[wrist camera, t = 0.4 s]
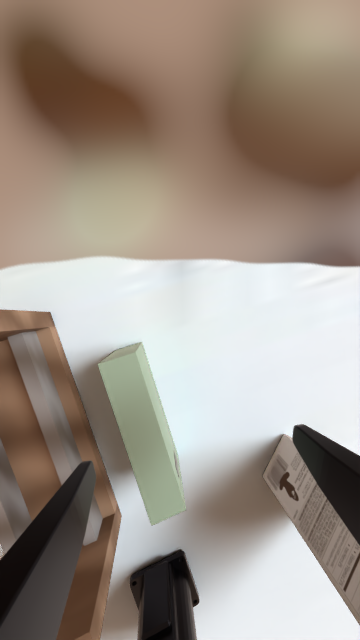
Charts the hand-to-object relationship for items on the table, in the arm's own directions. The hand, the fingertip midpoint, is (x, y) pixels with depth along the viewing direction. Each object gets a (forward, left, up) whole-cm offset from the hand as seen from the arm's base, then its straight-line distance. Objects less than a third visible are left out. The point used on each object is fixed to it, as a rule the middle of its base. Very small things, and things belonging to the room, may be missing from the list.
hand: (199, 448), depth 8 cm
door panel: (-3, +4, -13) cm, 14 cm away
